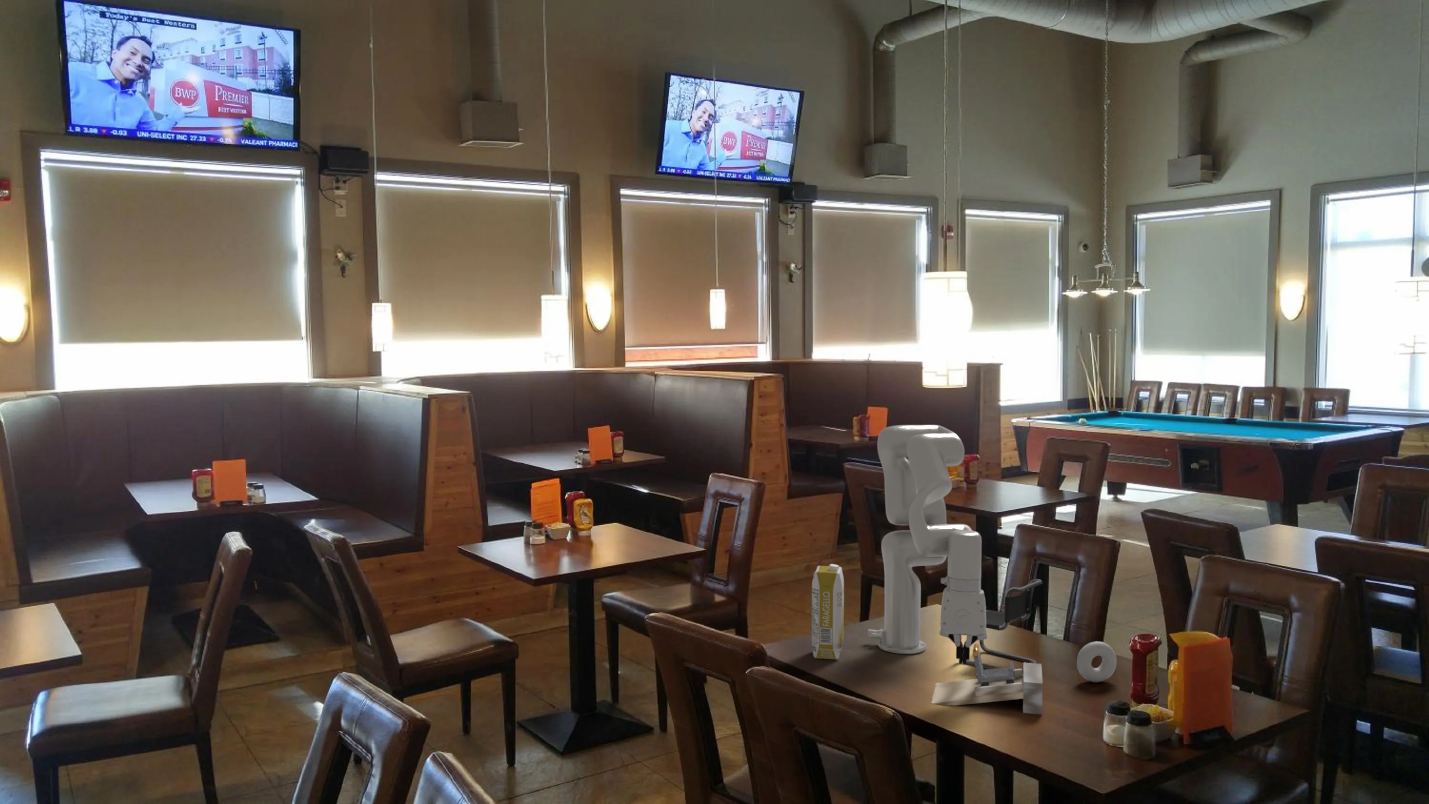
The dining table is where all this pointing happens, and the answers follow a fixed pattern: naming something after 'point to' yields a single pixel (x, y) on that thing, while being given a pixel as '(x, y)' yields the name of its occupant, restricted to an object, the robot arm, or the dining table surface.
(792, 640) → the dining table surface
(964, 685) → the dock
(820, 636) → the juice carton
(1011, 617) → the chair
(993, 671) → the trolley
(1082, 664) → the donut
